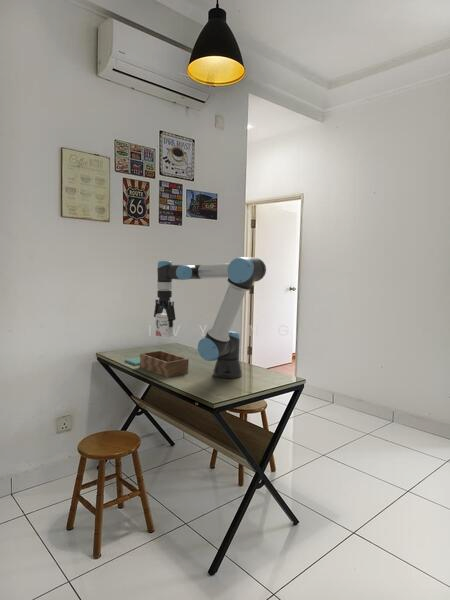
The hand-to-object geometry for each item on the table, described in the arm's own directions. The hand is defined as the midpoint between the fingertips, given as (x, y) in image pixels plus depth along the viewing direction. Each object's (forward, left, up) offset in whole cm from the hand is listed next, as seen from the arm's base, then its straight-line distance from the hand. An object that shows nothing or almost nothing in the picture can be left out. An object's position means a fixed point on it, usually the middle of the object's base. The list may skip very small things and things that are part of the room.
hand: (164, 331), depth 223 cm
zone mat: (+23, +1, -21) cm, 31 cm away
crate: (0, 0, -21) cm, 21 cm away
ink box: (0, 0, -2) cm, 2 cm away
